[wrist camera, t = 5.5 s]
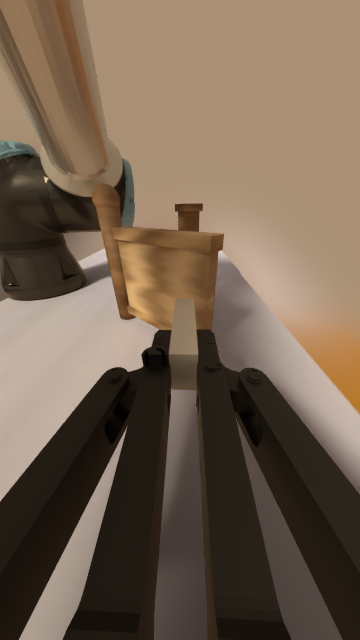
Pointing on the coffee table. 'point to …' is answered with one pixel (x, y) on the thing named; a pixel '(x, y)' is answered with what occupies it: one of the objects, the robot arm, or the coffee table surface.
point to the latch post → (188, 216)
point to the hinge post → (112, 240)
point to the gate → (169, 272)
